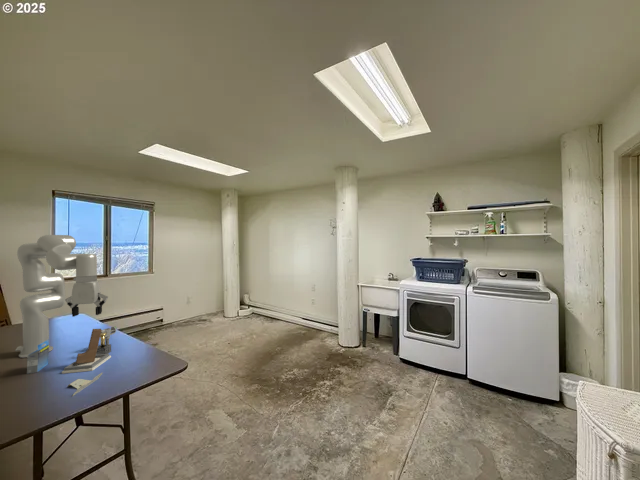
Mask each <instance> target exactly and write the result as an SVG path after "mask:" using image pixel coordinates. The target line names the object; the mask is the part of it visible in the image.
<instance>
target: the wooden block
mask: <svg viewBox="0 0 640 480" xmlns="http://www.w3.org/2000/svg"><path fill="white" fill-rule="evenodd" d="M102 330H103V329H102V328H92V330H91V335H90V338H89V343H88V347H87V349H86V350H85V351H84V352H78V353H77V356H76V358H75V361H76V363H86V362H94V361H95V356H96V352H97V348H98V346H99V344H100V343H99V342H100V341H101V339H100V336H101V331H102Z"/></svg>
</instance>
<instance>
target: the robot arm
mask: <svg viewBox="0 0 640 480" xmlns="http://www.w3.org/2000/svg"><path fill="white" fill-rule="evenodd" d="M76 246H77V241H76V239H75V237H73V236H72V235H69V234H66V235H65V234H45V235H42V236H40V237H39V238H38V239H37V242H30V243H29V242H28V243H24V244H21V245H20V246H18V248H17V252H16V253H17V254H16V255H17V259H18V261H19V263H20V265H21V269H22V287H23V290H24V291H25V292H26V293H37V292H38V294H32V295H28V296H25V297H22V299H21V300H19V310H20V312H21V316H22V345H19V346H17V347H16V349H15V350H14V351H15V352H20V353H19V354H18V357H19V358H27V356H28V355H29V354H31V353H33V352H34V351H36V350H38V348H37V345H39V344H41V343H43V342H45V341H46V340H49V341H50V322H49V321H50V320H49V317H48V316H47V315H46V314H45V313H43V312H44V311H45V312H46V311H51V310H55V309H59V308H63V307H64V306H65V304H66V305H68V306H69V308H70V309H71V316H72V317H77V316H79V314H80V309H79V305H87V304H88V305H89V304H94V305H95V316H99V315H101V314H102V312H103V306H104V304H106V302H107V300H108V298H109V296H108V295H106V294H103V293H101V292H102V291H101V287H100V283H99V281H98V266H97V264H98V263H97V261H98V258H97V255H96V254H93V253H72V251H73V250H74V249H75V248H76ZM40 259H45V260H46V263H47V264H48V265H49V266H50V267H51V268H52V269H55V270H56V271H67V270H69V271H70V270H75V277H74V278H73V281H74V282H75V283H73V285H72V290H71V295H70V296H69V297H66V284H65V283H66V282H65V277H64V275H62V274H61V273H58V272H51V273H50V272H49V273H47V272H46V264H45V263H44V262H43V261H42V260H40ZM45 291H51V292H45ZM39 292H44V293H39ZM101 299H102V300H101ZM44 345H45V344H43V345H42V347H43V346H44ZM52 350H54V346H51V345H49V352H51V351H52Z"/></svg>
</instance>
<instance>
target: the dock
mask: <svg viewBox="0 0 640 480" xmlns="http://www.w3.org/2000/svg"><path fill="white" fill-rule="evenodd" d="M111 358H112V355H110V353H108V354H100V355H96V356H95V361H94V362H86V363H76V360H75V361H74V362H72V363H70V364H69V365H66V367H64V369H63V371H61V375H63V374H71V373H73V374H74V373H83V372H92V371H94V370H96V369H97V368H98V367H99V366H101V365H102V364H104V363H105V362H107V361H108V360H109V359H111Z"/></svg>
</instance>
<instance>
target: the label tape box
mask: <svg viewBox="0 0 640 480" xmlns="http://www.w3.org/2000/svg"><path fill="white" fill-rule="evenodd" d="M43 344H45V345H44V346H43V347H42V345H43ZM49 346H50V339H49V340H46V341H45V342H43V343H41V344H39V345H37V348H38V350H36V351H34V352H33V353H31V354H29V355H28V356H27V357H26V358H27V359H26V362H27V364H26V374H35V373H39V372H40V371H41V370H42V369H44V368H45V367H46V366H48V365H49V357H50V356H49V355H50V354H49V352H50V351H49Z"/></svg>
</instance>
